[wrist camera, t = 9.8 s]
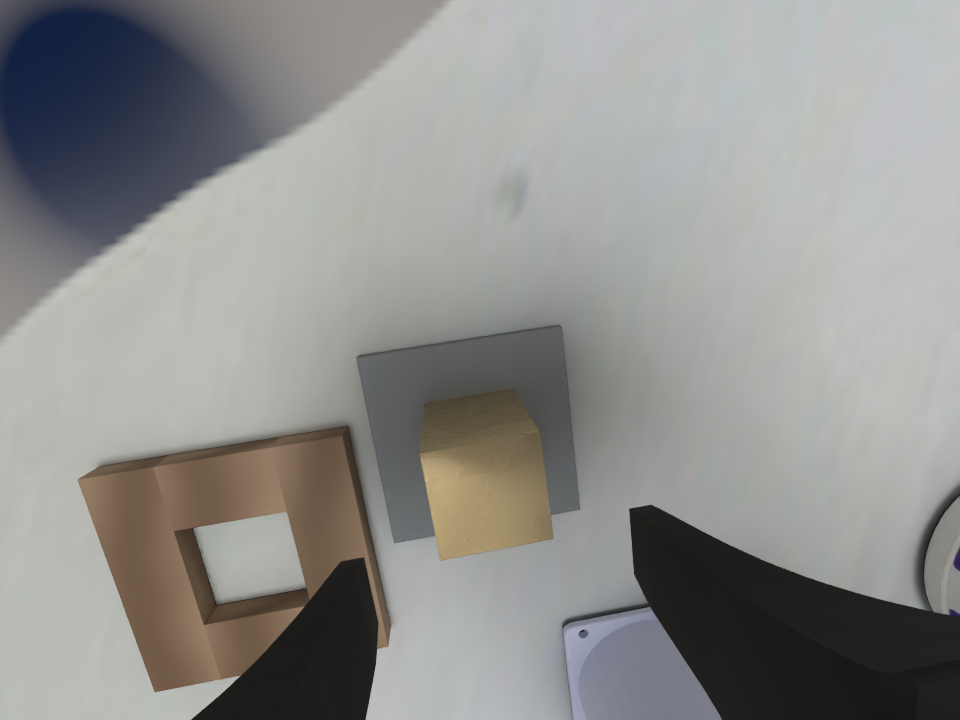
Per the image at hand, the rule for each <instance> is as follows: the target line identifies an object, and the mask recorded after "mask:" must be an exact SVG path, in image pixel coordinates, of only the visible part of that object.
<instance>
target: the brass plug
mask: <svg viewBox="0 0 960 720" xmlns="http://www.w3.org/2000/svg"><path fill="white" fill-rule="evenodd" d="M420 457H421V463H422V468H423V473H424V478H425V484H426V489H427V494H428V499H429V505H430V510H431V515H432V520H433V525H434V531H435V536H436V541H437V546H438V552H439V557H440V561H442V560H447V559H452V558H457V557H462V556H468V555H473V554H478V553H483V552H488V551H493V550H499V549H504V548H509V547H514V546H519V545H524V544H530V543H535V542H540V541H545V540H550V539H554V538H553V530H552V522H551V515H550V507H549V499H548V491H547V483H546V475H545V467H544V459H543V452H542V444H541V436H540V431H539V430H538V428H537V427H536V425H535V423H534V422H533V420H532V419H531V417H530V415H529V414H528V412H527V411H526V409H525V407H524V406H523V404H522V403H521V401H520V399H519V398H518V396H517V395H516V393H515V391H514V390H513V388H511V389H505V390H499V391H493V392H487V393H481V394H475V395H470V396H464V397H458V398H452V399H446V400H440V401H435V402H429V403H424V409H423V421H422V433H421V445H420Z"/></svg>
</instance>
